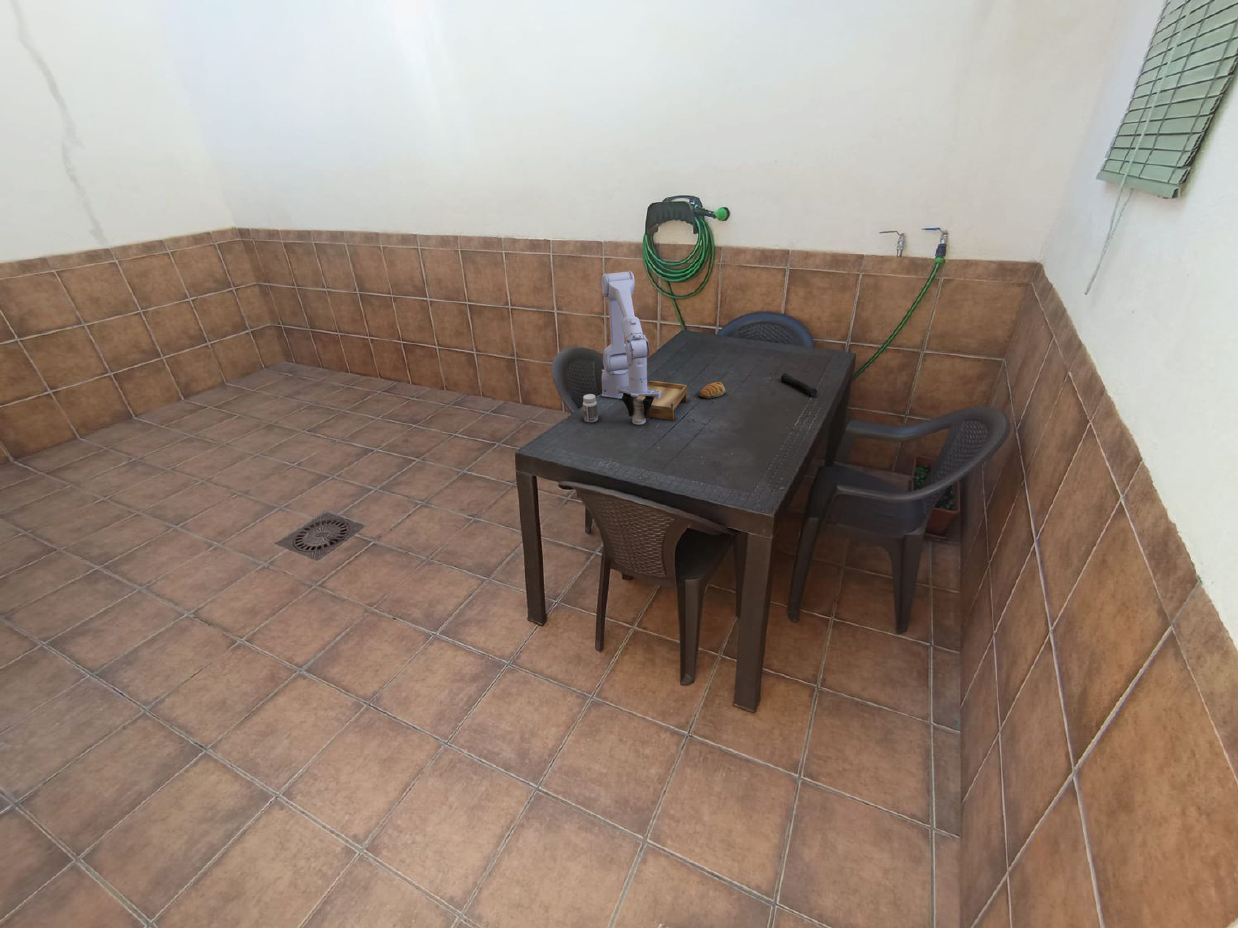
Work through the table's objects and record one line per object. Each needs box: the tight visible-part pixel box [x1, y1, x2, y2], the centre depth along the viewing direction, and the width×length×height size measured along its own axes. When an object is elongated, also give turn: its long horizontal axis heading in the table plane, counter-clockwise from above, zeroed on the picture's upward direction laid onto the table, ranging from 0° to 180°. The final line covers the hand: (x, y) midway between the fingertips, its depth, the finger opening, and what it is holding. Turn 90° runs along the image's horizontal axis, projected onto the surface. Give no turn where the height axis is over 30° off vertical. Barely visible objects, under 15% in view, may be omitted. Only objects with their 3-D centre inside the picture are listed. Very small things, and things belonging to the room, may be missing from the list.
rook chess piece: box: [632, 398, 647, 426], centre depth 182 cm, size 4×4×8 cm
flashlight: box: [780, 372, 818, 397], centre depth 201 cm, size 3×16×3 cm, turn 24°
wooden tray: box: [633, 380, 688, 421], centre depth 191 cm, size 14×16×6 cm
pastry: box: [699, 381, 726, 399], centre depth 199 cm, size 9×7×4 cm
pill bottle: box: [582, 393, 599, 423], centre depth 185 cm, size 5×5×8 cm
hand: (638, 415), depth 182 cm, fingers open, 5 cm apart
